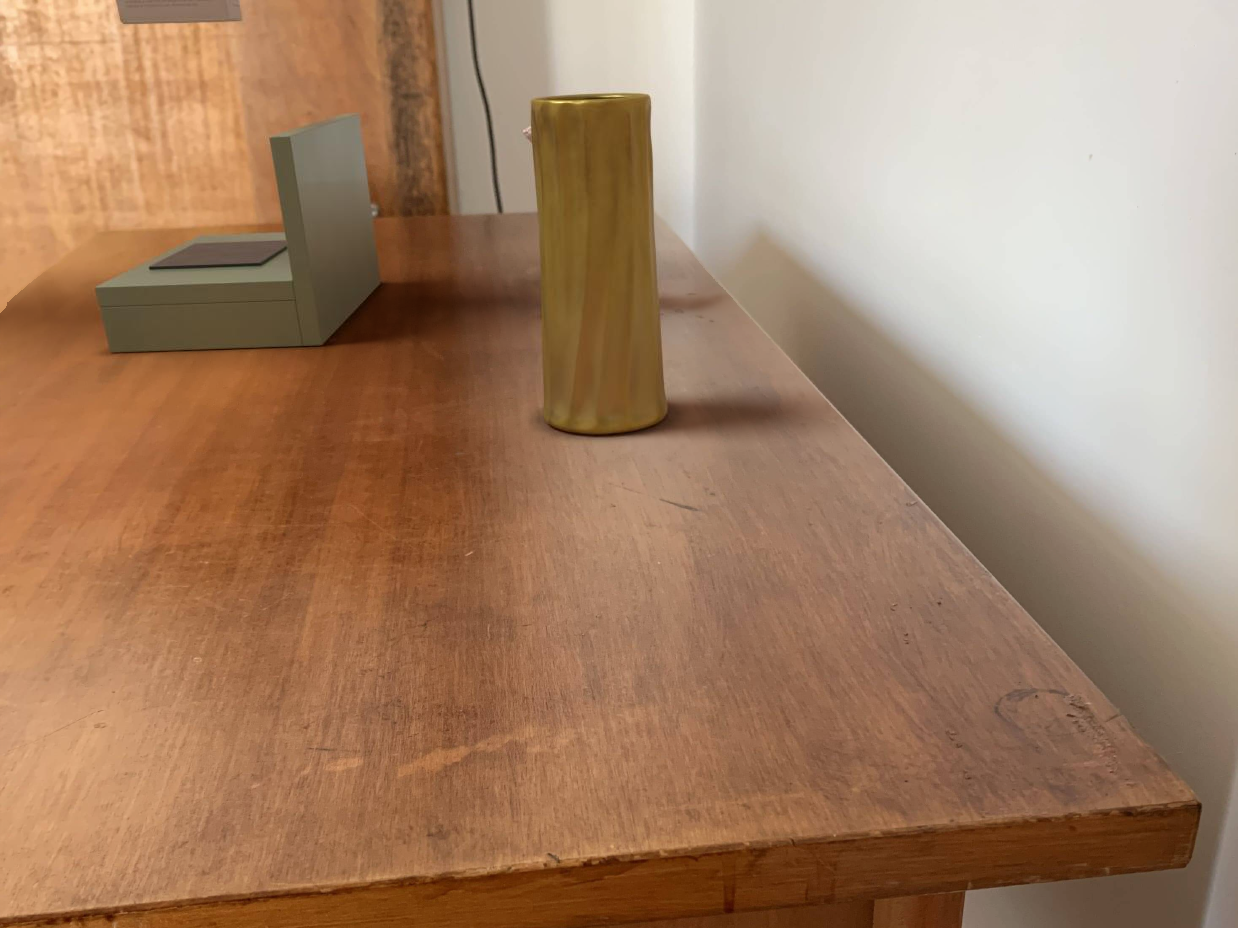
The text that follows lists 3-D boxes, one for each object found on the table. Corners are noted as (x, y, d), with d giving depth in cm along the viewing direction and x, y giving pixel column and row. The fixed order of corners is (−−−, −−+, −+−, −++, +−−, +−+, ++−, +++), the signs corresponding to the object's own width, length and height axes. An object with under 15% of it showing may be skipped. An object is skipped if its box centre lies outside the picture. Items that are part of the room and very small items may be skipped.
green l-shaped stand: (110, 352, 72) (59, 143, 67) (210, 289, 90) (177, 119, 85) (322, 345, 72) (289, 136, 67) (381, 283, 90) (359, 113, 84)
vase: (518, 417, 58) (492, 99, 51) (614, 392, 61) (602, 91, 54) (594, 444, 53) (577, 102, 47) (693, 416, 57) (690, 93, 50)
